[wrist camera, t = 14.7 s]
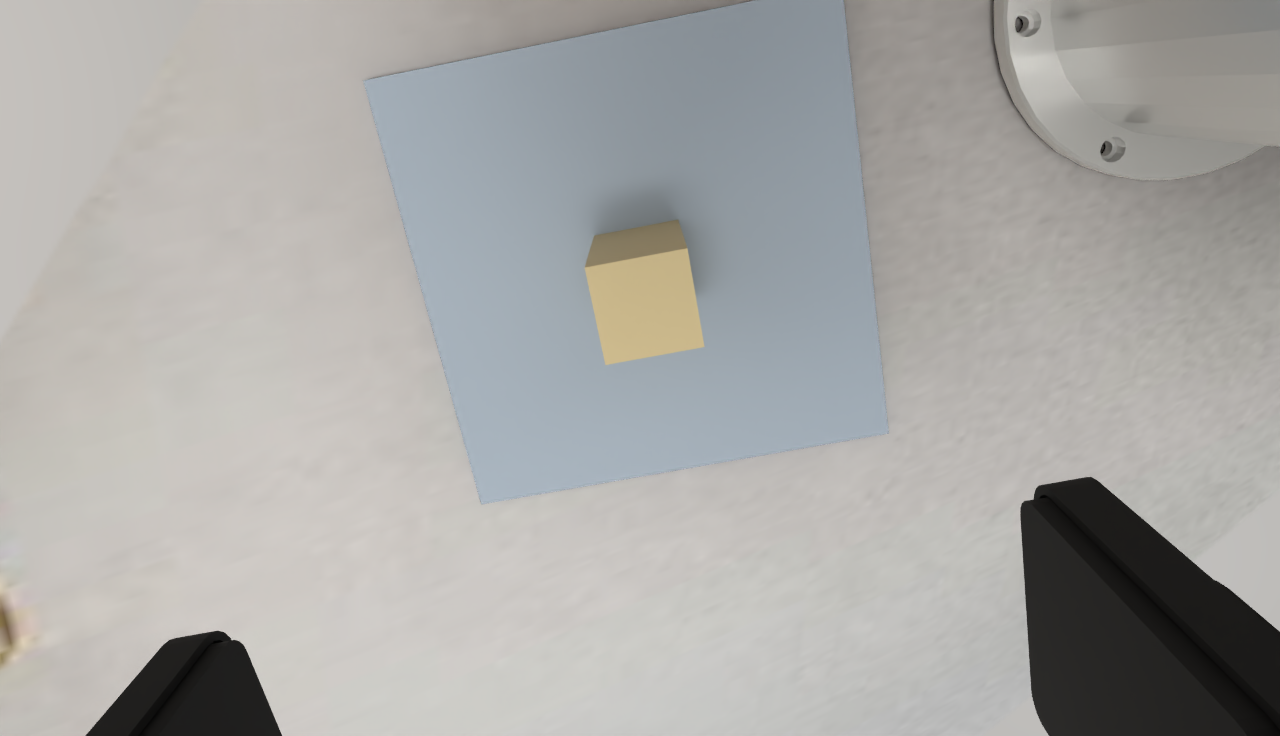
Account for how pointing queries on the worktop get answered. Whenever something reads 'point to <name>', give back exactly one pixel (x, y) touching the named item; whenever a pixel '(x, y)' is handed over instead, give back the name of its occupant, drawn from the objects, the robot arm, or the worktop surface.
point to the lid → (643, 244)
